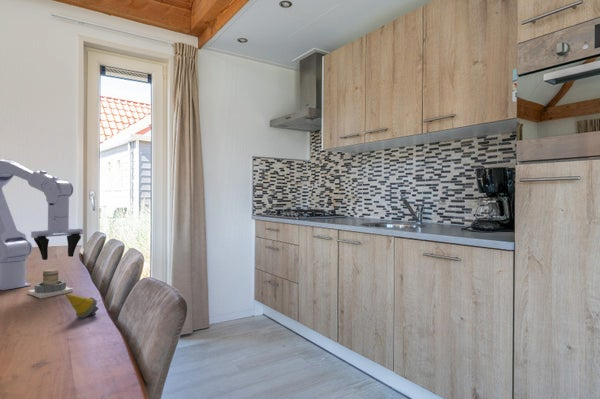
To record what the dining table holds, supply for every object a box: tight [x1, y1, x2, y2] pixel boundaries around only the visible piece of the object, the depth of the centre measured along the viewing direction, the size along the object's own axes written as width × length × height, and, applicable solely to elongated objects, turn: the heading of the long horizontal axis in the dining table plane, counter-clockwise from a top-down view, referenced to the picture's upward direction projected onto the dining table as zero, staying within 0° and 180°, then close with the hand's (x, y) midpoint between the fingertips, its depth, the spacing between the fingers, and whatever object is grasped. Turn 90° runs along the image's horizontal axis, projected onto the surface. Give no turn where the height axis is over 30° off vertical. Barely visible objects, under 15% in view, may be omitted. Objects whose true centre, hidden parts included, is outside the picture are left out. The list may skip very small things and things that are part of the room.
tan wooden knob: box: [42, 269, 59, 286], centre depth 114 cm, size 4×4×6 cm
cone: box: [64, 293, 99, 319], centre depth 91 cm, size 5×5×10 cm
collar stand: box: [27, 279, 74, 299], centre depth 114 cm, size 9×9×3 cm
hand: (58, 258), depth 118 cm, fingers open, 7 cm apart
